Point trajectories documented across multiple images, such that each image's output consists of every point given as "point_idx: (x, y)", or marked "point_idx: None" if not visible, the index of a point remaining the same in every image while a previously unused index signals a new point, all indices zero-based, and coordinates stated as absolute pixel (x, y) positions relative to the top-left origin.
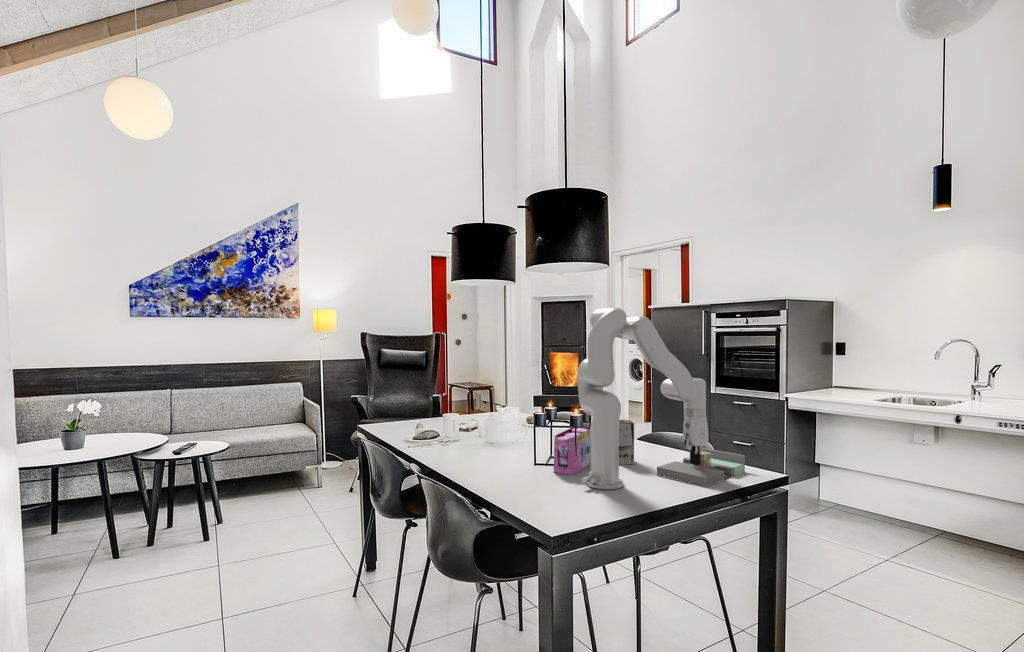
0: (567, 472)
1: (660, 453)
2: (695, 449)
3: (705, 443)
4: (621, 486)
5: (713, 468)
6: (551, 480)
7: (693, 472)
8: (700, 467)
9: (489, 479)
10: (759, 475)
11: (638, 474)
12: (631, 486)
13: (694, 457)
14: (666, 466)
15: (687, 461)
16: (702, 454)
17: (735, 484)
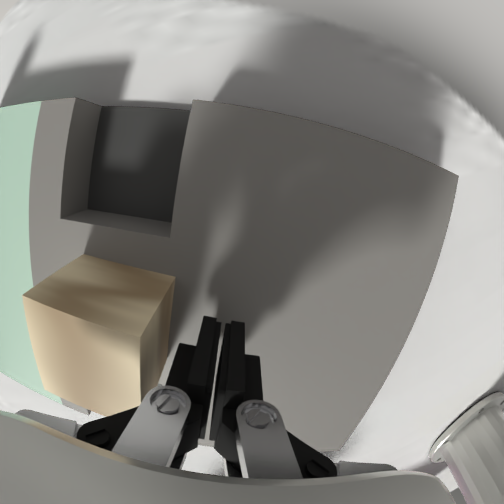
0: None
1: None
2: (291, 453)
3: (76, 448)
4: (491, 395)
5: (109, 223)
6: (447, 472)
7: (379, 292)
8: (196, 301)
9: (448, 489)
10: (24, 41)
11: (347, 451)
12: (478, 389)
13: (260, 388)
14: (308, 437)
15: None
16: (136, 358)
17: (270, 33)
